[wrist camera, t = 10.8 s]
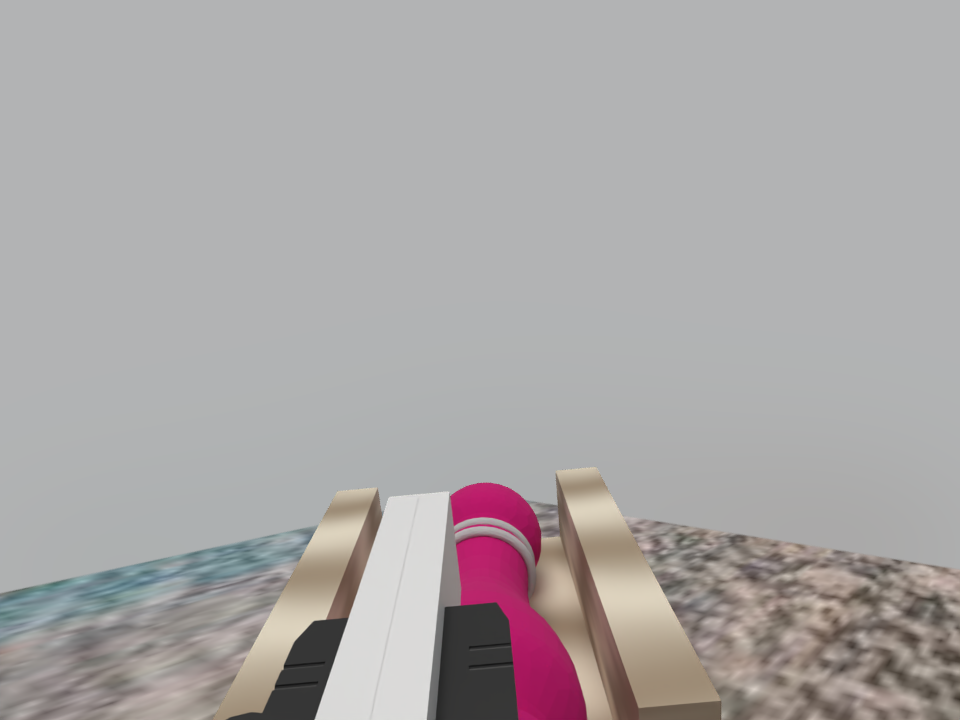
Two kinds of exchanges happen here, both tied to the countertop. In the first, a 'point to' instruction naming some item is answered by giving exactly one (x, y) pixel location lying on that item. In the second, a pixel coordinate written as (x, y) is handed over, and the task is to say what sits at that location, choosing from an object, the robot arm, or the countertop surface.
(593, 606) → the u rest
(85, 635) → the countertop surface
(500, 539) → the pepper mill
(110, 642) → the countertop surface
